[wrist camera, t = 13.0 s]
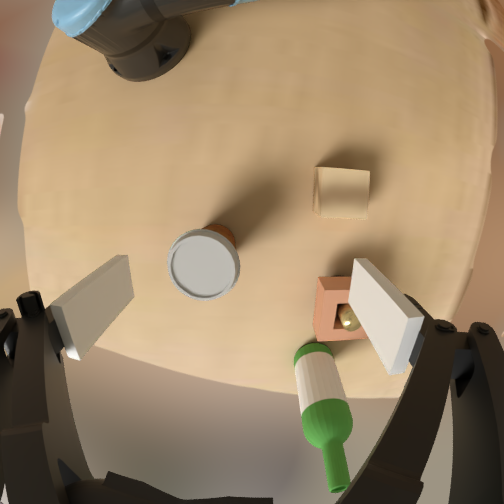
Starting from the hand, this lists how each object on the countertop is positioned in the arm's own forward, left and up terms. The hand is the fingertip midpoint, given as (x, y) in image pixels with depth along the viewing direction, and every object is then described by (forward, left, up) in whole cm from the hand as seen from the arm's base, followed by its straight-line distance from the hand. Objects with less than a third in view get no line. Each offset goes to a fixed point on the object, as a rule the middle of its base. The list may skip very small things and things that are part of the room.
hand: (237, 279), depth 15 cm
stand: (-3, +13, -29) cm, 32 cm away
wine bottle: (+29, +12, -29) cm, 43 cm away
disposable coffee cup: (+6, -6, -29) cm, 30 cm away
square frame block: (+15, +15, -26) cm, 33 cm away
